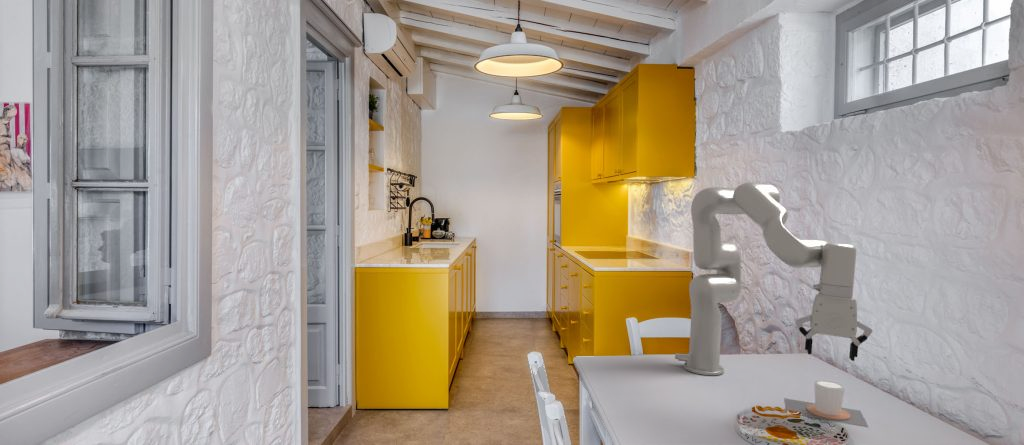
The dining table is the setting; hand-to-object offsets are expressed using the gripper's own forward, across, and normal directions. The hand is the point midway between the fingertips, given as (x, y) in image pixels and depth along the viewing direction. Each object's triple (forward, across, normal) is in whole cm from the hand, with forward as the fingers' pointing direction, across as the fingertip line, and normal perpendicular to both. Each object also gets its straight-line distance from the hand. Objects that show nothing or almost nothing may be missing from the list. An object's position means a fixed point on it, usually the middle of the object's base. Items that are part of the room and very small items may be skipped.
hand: (830, 356), depth 143 cm
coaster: (+15, +1, 0) cm, 15 cm away
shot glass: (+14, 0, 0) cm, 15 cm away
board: (+16, 0, 0) cm, 16 cm away
